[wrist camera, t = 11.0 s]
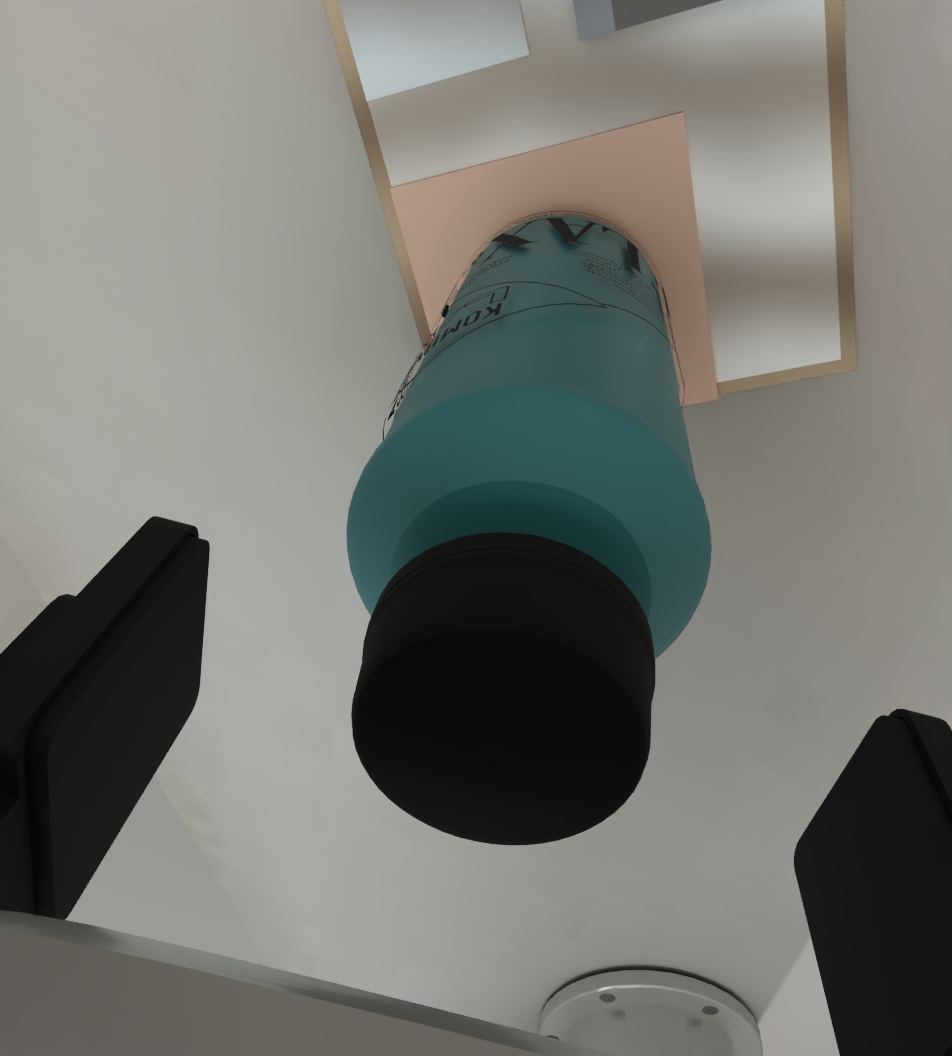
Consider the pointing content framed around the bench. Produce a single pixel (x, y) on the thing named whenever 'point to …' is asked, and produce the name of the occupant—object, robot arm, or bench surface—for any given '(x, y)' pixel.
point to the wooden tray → (631, 97)
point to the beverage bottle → (527, 543)
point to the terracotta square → (580, 186)
